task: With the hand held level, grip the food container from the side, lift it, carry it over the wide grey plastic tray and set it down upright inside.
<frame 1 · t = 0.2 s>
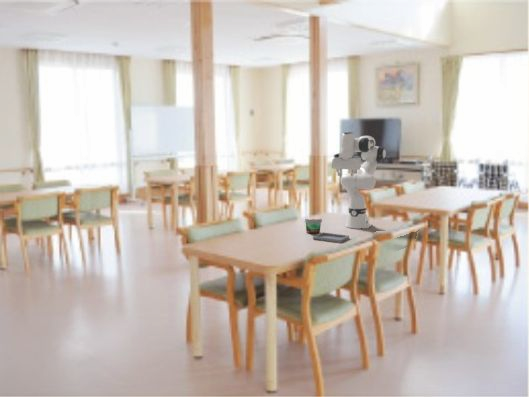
hand: (345, 175, 366), 39 cm above the table, tool pointing down, fingers open, 8 cm apart
tray: (331, 239, 351), on the table
food container: (314, 233, 369), on the table
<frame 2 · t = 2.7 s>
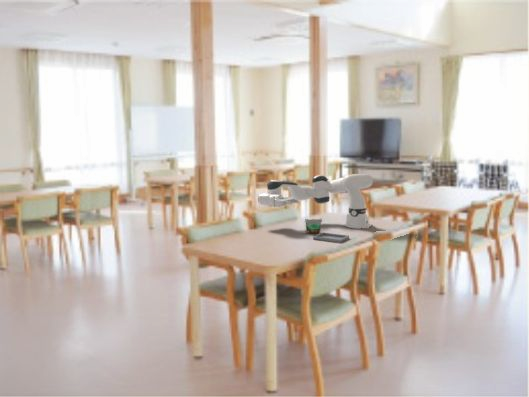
hand: (295, 202, 374), 20 cm above the table, tool horizontal, fingers open, 8 cm apart
nothing on the table moved.
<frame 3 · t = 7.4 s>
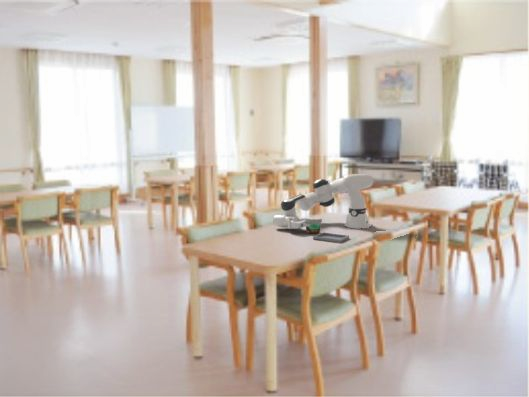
hand: (311, 224, 369), 6 cm above the table, tool horizontal, fingers open, 4 cm apart
food container: (314, 233, 369), on the table, touching gripper
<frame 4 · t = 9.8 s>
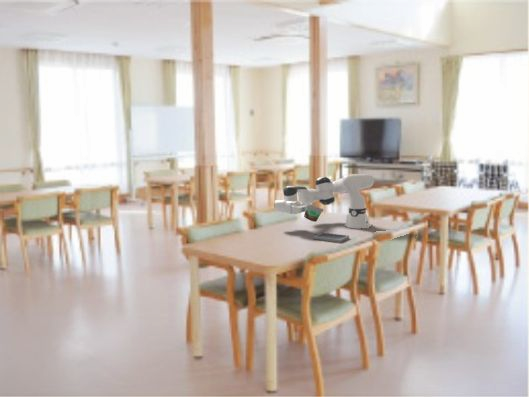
hand: (312, 209, 366), 17 cm above the table, tool horizontal, fingers closed on food container, 2 cm apart
food container: (310, 220, 366), point 9 cm above the table, touching gripper
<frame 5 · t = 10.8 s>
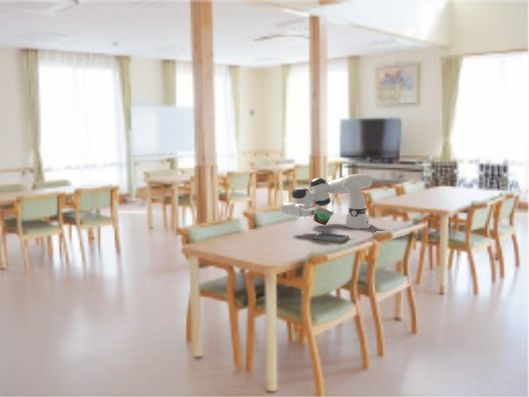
hand: (322, 212, 355), 17 cm above the table, tool horizontal, fingers closed on food container, 2 cm apart
food container: (320, 223, 354), point 10 cm above the table, touching gripper
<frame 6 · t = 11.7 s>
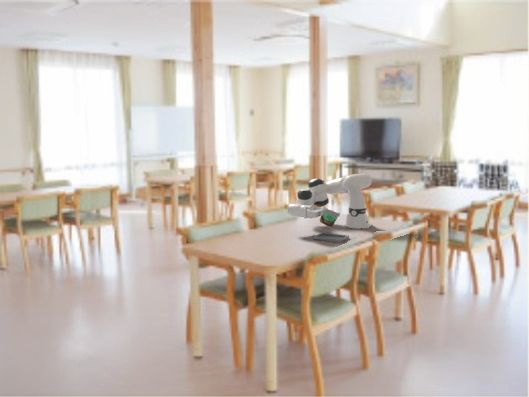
hand: (328, 213, 350), 17 cm above the table, tool horizontal, fingers closed on food container, 2 cm apart
food container: (326, 225, 350), point 9 cm above the table, touching gripper
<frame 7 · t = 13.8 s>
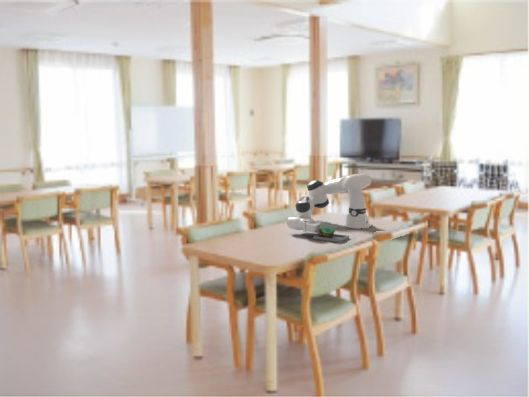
hand: (327, 226, 351), 8 cm above the table, tool horizontal, fingers closed on food container, 2 cm apart
food container: (326, 237, 351), point 1 cm above the table, touching gripper, tray
when the fingers open (8 cm above the table, at t = 14.4 s): food container moves 1 cm, resting on tray.
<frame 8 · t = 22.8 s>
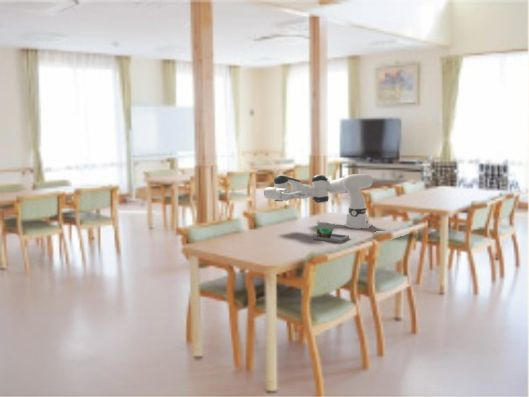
hand: (302, 196, 364), 26 cm above the table, tool horizontal, fingers open, 8 cm apart
food container: (324, 237, 351), point 1 cm above the table, touching tray
at the end: food container inside the target area on the tray (4.5 cm from its centre), point 0.8 cm above the tray's base; food container tilted 12°; the gripper is holding nothing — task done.
